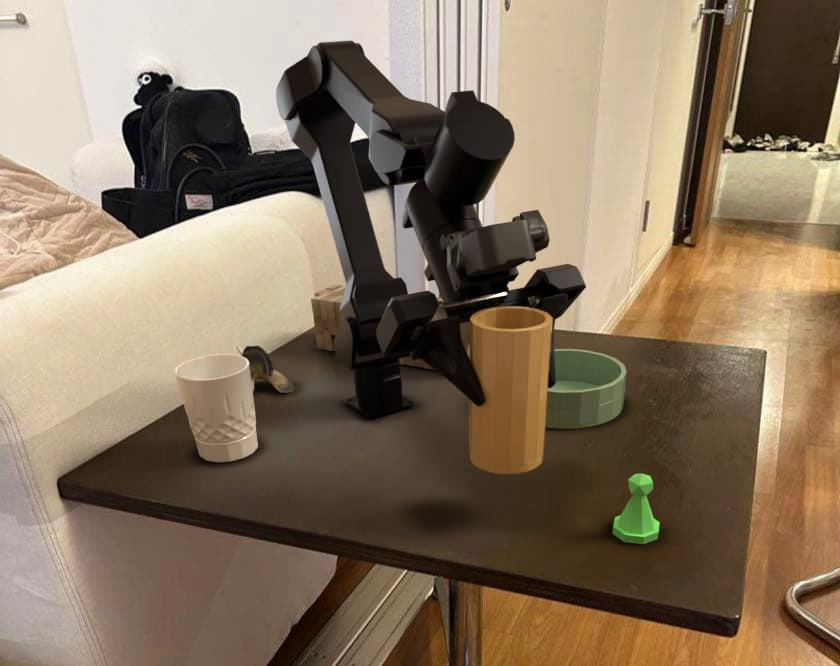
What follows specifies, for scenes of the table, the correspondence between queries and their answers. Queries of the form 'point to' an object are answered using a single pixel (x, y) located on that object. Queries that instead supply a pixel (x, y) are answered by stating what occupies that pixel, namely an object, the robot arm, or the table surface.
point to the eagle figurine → (265, 369)
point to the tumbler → (510, 388)
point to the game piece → (637, 514)
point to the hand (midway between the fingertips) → (517, 395)
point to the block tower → (330, 319)
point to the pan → (585, 389)
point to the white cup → (219, 405)
